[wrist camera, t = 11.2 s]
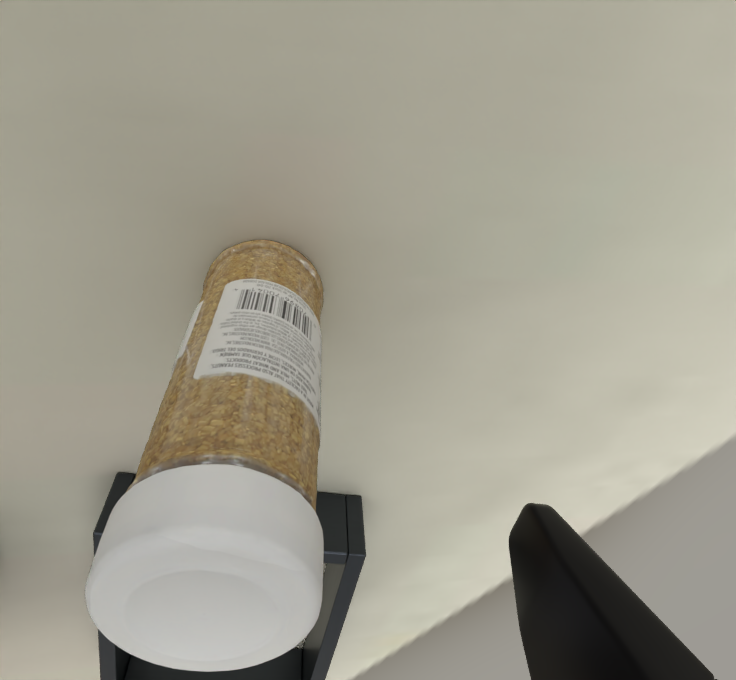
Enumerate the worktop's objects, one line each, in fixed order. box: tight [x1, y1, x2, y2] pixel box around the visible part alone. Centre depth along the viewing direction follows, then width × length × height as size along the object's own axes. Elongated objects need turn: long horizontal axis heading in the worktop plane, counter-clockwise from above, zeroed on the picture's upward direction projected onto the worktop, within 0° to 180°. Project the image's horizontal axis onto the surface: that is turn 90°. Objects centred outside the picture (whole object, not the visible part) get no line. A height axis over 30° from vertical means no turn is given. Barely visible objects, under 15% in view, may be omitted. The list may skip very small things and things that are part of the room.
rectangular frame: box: [93, 473, 366, 680], centre depth 30 cm, size 12×15×4 cm
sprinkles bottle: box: [85, 240, 324, 672], centre depth 17 cm, size 5×5×13 cm
